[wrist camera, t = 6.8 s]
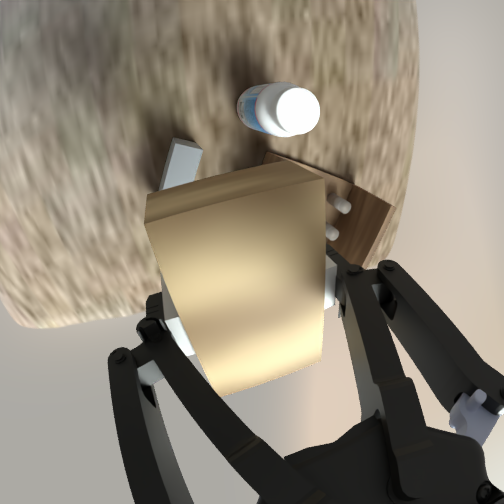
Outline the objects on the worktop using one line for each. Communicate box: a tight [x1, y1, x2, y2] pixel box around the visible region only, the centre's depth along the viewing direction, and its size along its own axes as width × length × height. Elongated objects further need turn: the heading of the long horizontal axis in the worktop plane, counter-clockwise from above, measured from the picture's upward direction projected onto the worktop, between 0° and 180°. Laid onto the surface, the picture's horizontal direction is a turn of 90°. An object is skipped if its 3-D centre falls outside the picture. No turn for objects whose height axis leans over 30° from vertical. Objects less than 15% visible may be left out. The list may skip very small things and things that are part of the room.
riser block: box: [159, 137, 203, 191], centre depth 31 cm, size 3×8×6 cm, turn 160°
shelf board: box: [144, 160, 326, 397], centre depth 15 cm, size 12×7×4 cm, turn 8°
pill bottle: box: [237, 82, 320, 137], centre depth 28 cm, size 6×6×11 cm
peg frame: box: [262, 151, 396, 270], centre depth 37 cm, size 16×11×10 cm
